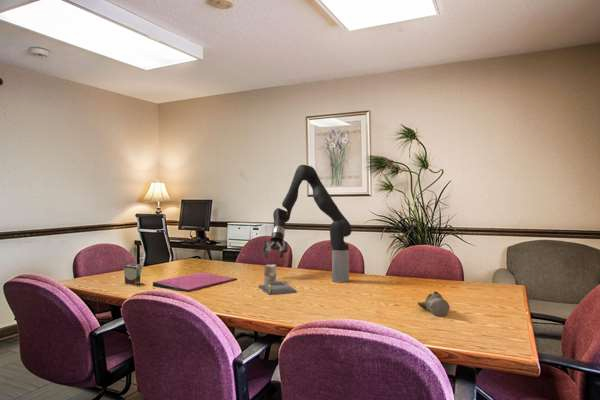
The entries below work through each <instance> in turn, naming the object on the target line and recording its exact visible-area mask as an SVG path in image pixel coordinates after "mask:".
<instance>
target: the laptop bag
mask: <svg viewBox="0 0 600 400" xmlns="http://www.w3.org/2000/svg"><path fill="white" fill-rule="evenodd" d="M232 281H233V282H234V281H238V278H235V277H231V276H230V277H229V276H223V275H218V274H212V273H207V272H197V273H191V274H185V275H180V276H177V277H170V278H167V279H162V280H161V279H160V280H156V281H153V282H152V287H153V288H154V287H155V288H163V289H168V290H173V291H177V292H186V293H190V292H192V291H193V292H194V291H197V290H201V289H204V288H208V287H212V286H217V285H220V284H223V283H229V282H232Z"/></svg>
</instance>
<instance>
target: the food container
mask: <svg viewBox="0 0 600 400" xmlns="http://www.w3.org/2000/svg"><path fill="white" fill-rule="evenodd" d="M122 269H123V274H124V284H127V285H132V286H138V285H140V284H141V273H142V270H143V266H142V264H141V263H140V264H139V263H128V264H123V268H122Z"/></svg>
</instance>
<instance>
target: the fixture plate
mask: <svg viewBox="0 0 600 400" xmlns="http://www.w3.org/2000/svg"><path fill="white" fill-rule="evenodd" d="M258 288H259V289H260V290H261V291H263V292H264V293H266V294H267V295H268V296H270V295H282V294H291V293H294V294H295V293H297V289H295V288H294V287H292V286H290V284H289V283H287V282H285V281H284V280H276V281H275V282H265V283H264V284H259V285H258Z"/></svg>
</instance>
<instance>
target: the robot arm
mask: <svg viewBox="0 0 600 400" xmlns="http://www.w3.org/2000/svg"><path fill="white" fill-rule="evenodd" d="M294 172H295V173H294V176H293V178H292V180H291V183H290V186H289V189H288V191H287V194H286V195H285V197H284V199H283V201H282V202H281V205H282V207H283V208H284V209H286V210H284V209H282V208H279V207H277V208H276V209H274V211H273V215H272V216H273V218H272V219H273V227H272V231H271V235H270V240H269V242H267V241H264V243H263V247H262V252H264V257H265V258H266V259H267V258H268V256H269V253H270V252H271V251H272V250H273V251H274V250H277V251H280V255H279V259H282V258H283V257H284V254H285V253H288V248H289V247H288V246H289V244H288V241H285V242H284V240H285V239H284V238H285V230H286V223H287V222H289V221H290V219H291V214H292V210H293V207H294V206H295V205H296V202H297V201H298V198H299V197H298V196H299V188H300V186H301V184H302V183H303V181H306V182H307V183H308V185H309V186H310V187H311V189H312V197H313V201H314V202H315V204H316V205H317V207H318V209H319V210H320V211H321V212H323V213H324V214H325V215H326V216H327V217H329V218H330V219H331V220H332V223H330V227H329V239H330V246H331V280H332V282H335V283H348V282H349V281H350V260H349V259H350V257H349V256H350V255H349V250H350V249H349V247H350V246H349V244H348V243H346V242H345V238H346V237H350V235H351V234H352V230H353V229H352V225H351V223H350V222H349V221H348V220H347V218H346V217H345V216H344V214H343V213H342V212H341V211H340V209H339V207H338V206H337V204H336V203H335V202H334V200H333V198H332V196H331V194H329V192H328V190H327V189H326V188H325V186H324V184H323V183H322V181H321V179H320V177H319V175H318V173H317V171H316V169H315V168H314V167H313V166H311V165H307V164H300V165H298V166H297V168H296V170H295V171H294ZM283 247H284V248H283Z"/></svg>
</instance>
